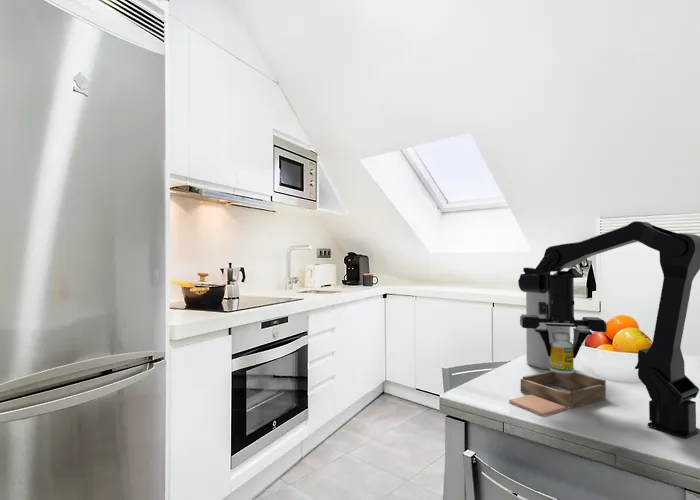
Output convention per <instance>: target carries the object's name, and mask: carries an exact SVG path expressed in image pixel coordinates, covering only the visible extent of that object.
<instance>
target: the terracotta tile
mask: <svg viewBox="0 0 700 500" xmlns="http://www.w3.org/2000/svg"><path fill="white" fill-rule="evenodd" d="M508 402H509V403H510V404H512V405H514V406H517V407H519V408H522V409H524V410H527V411H529V412H532V413H535V414H537V415H539V416H542V417H545V416H548V415H552V414H556V413H559V412H563V411H566V410H567V407H565V406H562V405H560V404H557V403H554V402H551V401H548V400H546V399H543V398H540V397H537V396H534V395H532V394H528V395H524V396H520V397H515V398H512V399H509V400H508Z"/></svg>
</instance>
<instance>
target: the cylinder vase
mask: <svg viewBox="0 0 700 500" xmlns="http://www.w3.org/2000/svg"><path fill="white" fill-rule="evenodd" d="M525 302H526V303H525V304H526V305H525V309H526V311H525V313H526V315H537V316H538V317H539V318H546V315H539V314H538V302H546V304H548V291H547V292H546V293H544V294H542V293H530V292H525ZM546 329H547V330H548V331H549V341H551V340H553V338H552V332H566V333H569V334H570V335H571V327H564V326H547V327H546ZM525 330H526V332H525V333H526V336H525V337H526V338H525V339H526V340H525V341H526V362H527V364H528V365H529V366H531V367H534V368H538V369H541V370H548V371H551V369H550V356H548V355H547V352H546V349H545V346H544V343H543V340H542V338H541V336H540V334H539V332H535V330H534V329H533V328H525ZM569 341H570V342H571V339H570V340H569Z"/></svg>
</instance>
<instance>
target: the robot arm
mask: <svg viewBox="0 0 700 500" xmlns="http://www.w3.org/2000/svg"><path fill="white" fill-rule="evenodd" d="M636 242H639V243H641V245H642V244H643V245H644V246H646V247H648V248H650V249H652V250H655V251H657V252H659V264H660V268H661V271H662V275H663V280H662V281H663V282H662V285H661V286H662V287H661V293H660V297H659V305H658V309H657V316H656V319H655V320H656V321H655V327H654V331H653V332H654V333H653V338H652V343H651V345H650V347H647V348H642V349H639V350H638V352H637V363H636V365H635V366H634V369H635V370H637V377H638V380H640V381H641V383H642V385H644V386H645V388H646V390H647V394H648V395H649V398H650V399H651V400H649V401H648V418H649V419H648V420H649V421H650V422H647V426H648V427H650V428H654V429H656V430H660V431H662V432H665V433H669V434H671V435H674V436H677V437H680V438H684V439H688V438H690V437H692V436H694V435H696V434H698V433H700V428H697V406H696V404H697V402H696V401H695V400H694V401H693V400H692V399H695V398H697V397H698V394H699V393H700V388H699V387H698V386H697V385H696V384H695V383H694V382H693V381H692V380H691V379H690V378H689V377H688V376H687V375H686V373H685V372H686V371H685V360H684V356H683V353H682V349H681V347H682V346H681V345H682V340H683V334H684V328H685V323H686V319H687V318H686V317H687V314H688V313H687V312H688V308H689V301H690V297H691V291H692V287H693V286H692V285H693V281H694V279H695V277H696V276H697V274H698V273H699V271H700V235H697V234H693V233H684V232H683V233H681V232H680V233H678V232H676V231H672V230H668V229H666V228H662V227H660V226H656V225H653V224H651V222H647V221H638V220H635V221H631V222H629V223H628V224H626V225H624V226H620V227H617V228H615V229H613V230H609V231H606V232H604V233H603V232H602V233H600V234H597V235H595V236H592V237H589V238H587V239H584V240H580V241H575V242H571V243H570V242H569V243H568V242H567V243H562V244H557V245H551V246H549V247H546V248H545V252H544V255H543V257H542V259H541V260H540V261H539V263H538V264H537V266H536V267H535V268H534V267H523V272H521V274H520V275H519V279H518V281H517V282H518V287H519V289H520V291H522V292H523V293H526V292H530V293H542V294H544V293H546V292H547V291H548V304H546V302H538V314H539V315H546V318H539V317H538V316H537V315H526V314H524V313H523V314H521V315H520V316H519V325H520V326H521V328H523V329H526V328H533V329H534V330H535V332H539V334H540V336H541V338H542V340H543V343H544V346H545V349H546V352H547V355H548V356H550V341H549V331H548V330H547V329H546V327H547V326H564V327H570V328H573V340H572V344H573V359H576V357H577V355H578V353H579V352H580V349H581V347H582V345H583V343H584V342H585V340H586V339H587V337H588V336H592V335H593V332H596V333H607V330H608V329H607V327H608V326H607V322H606V321H605V320H604V319H602V318H600V317H595V316H582V318H581V319H575V293H574V291H575V288H574V286H575V285H574V282H575V281H574V279H582V278H583V277H584V275H583V274H581V273H580V272H579V271H578V270H577V269H576V268H575V266H577V265H579V264H581V263H583V262H584V261H585V260H587V259H588V258H590V257H592V256H595V255H596V256H597V255H598V254H603V253H605V252H608V251H611V250H614V249H617V248H618V249H619V248H622V247H625V246H628V245H631V244H635V243H636ZM573 267H574V268H573ZM564 269H568V270H564ZM551 273H553V274H551Z"/></svg>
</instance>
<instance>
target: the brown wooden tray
mask: <svg viewBox="0 0 700 500" xmlns="http://www.w3.org/2000/svg"><path fill="white" fill-rule="evenodd" d="M552 385H556V386H560V387H564V388H566V389H568V390H570V391H569V393H568V392H565V391H563V390H559V389H555V388H552V387H550V386H552ZM606 387H607V386H606V380H605V379H602V378H600V377H599V378H598V377H595V376H590V375H587V374H583V373H579V372H576V371H573V372H572V373H570V374H562V373H557V372H553V371H551V370H548V371H543V372H540V373H534V374H528V375H525V376H522V378H520V391H521V392H523V393H525V394H528V395H531V394H532V395H534V396H537V397H540V398H543V399H546V400H548V401H551V402H554V403H557V404H560V405H562V406H565V407H566V409H571V410H572V409H575V408H578V407H581V406H585V405H588V404H589V405H590V404H593V403H596V402H599V401H603V400H606V398H607V396H606V395H607V394H606V393H607V391H606V390H607V389H606ZM571 390H572V391H571Z"/></svg>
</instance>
